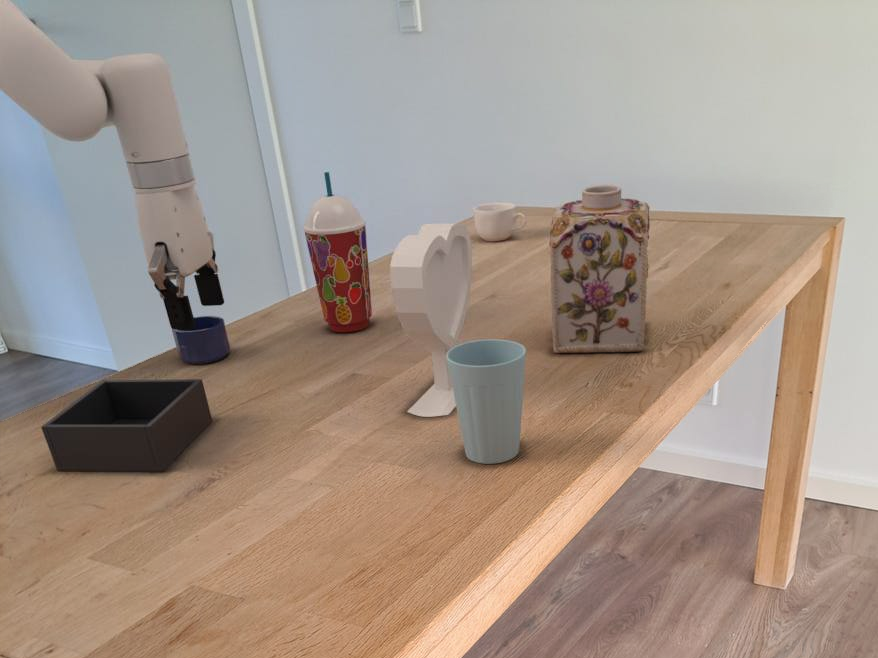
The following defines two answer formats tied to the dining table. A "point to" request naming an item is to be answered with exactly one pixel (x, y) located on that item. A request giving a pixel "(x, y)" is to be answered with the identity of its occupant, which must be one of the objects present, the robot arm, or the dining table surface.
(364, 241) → the smoothie
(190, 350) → the cylindrical container
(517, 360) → the cup
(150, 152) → the robot arm
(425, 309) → the heart sculpture
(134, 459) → the dish tub
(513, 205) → the teacup
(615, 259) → the decorative jar
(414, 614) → the dining table surface
